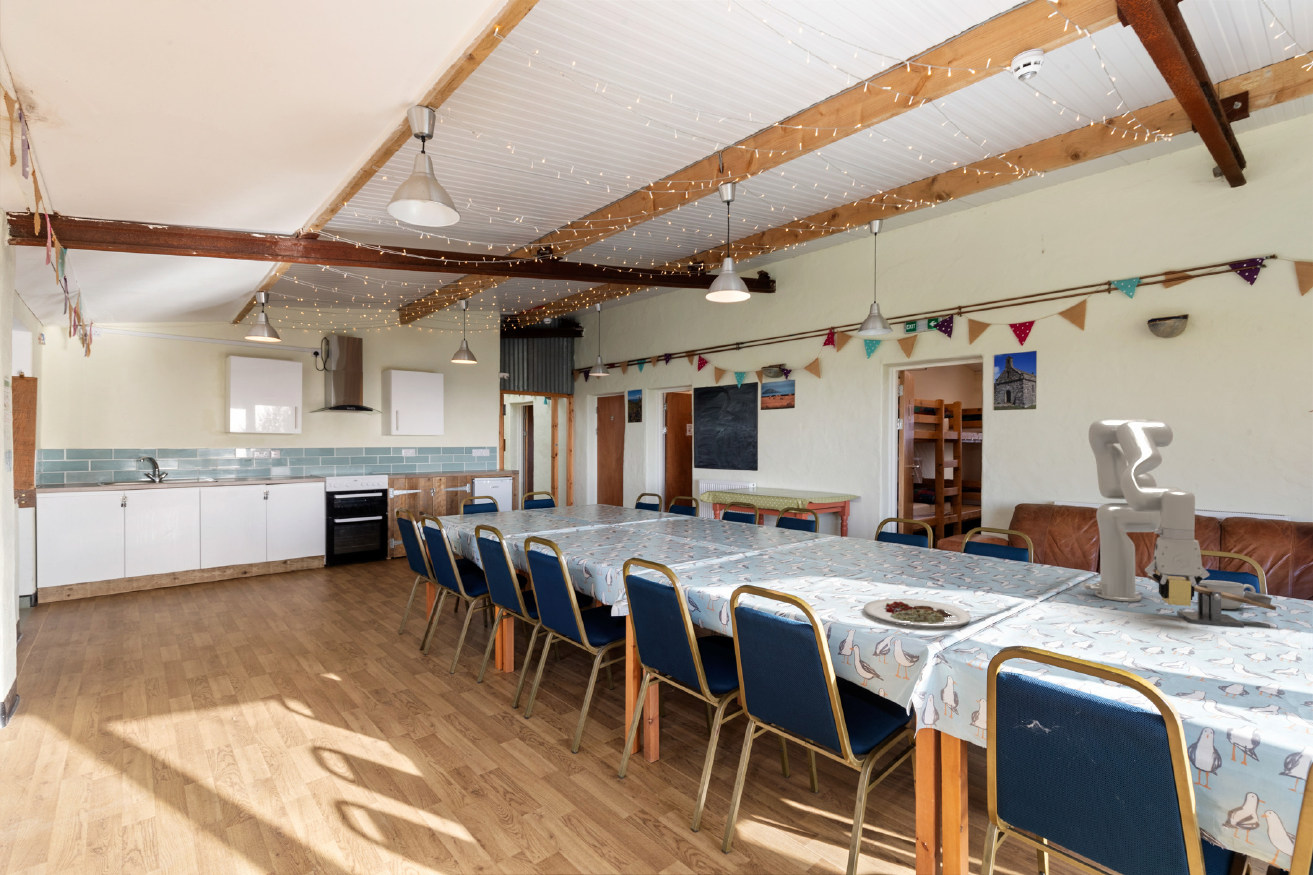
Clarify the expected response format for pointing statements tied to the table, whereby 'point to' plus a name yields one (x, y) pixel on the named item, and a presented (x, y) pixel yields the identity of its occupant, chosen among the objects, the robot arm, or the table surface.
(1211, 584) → the teacup
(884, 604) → the plated food
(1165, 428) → the robot arm
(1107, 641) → the table surface
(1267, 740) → the table surface
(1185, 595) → the block
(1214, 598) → the beam stand
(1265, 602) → the beam
